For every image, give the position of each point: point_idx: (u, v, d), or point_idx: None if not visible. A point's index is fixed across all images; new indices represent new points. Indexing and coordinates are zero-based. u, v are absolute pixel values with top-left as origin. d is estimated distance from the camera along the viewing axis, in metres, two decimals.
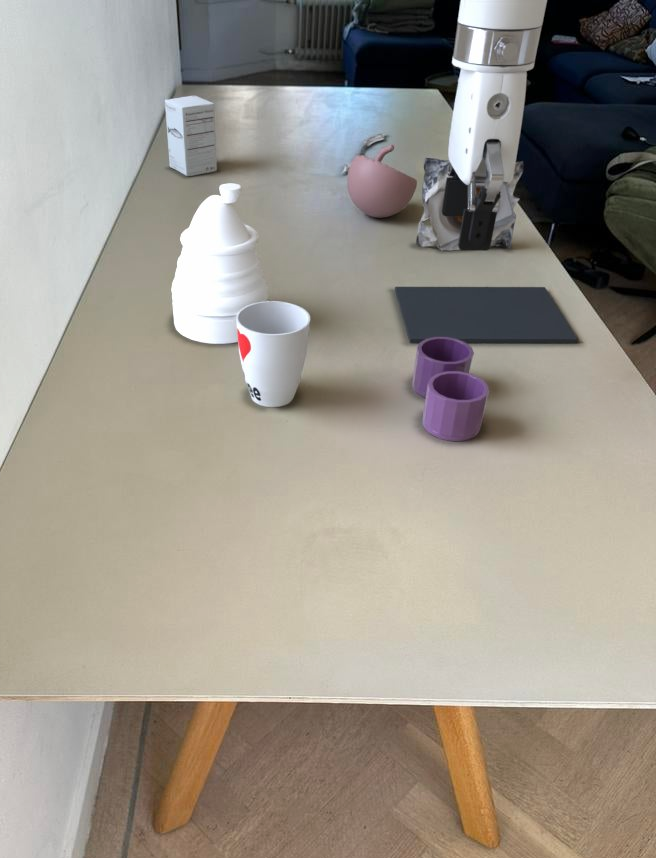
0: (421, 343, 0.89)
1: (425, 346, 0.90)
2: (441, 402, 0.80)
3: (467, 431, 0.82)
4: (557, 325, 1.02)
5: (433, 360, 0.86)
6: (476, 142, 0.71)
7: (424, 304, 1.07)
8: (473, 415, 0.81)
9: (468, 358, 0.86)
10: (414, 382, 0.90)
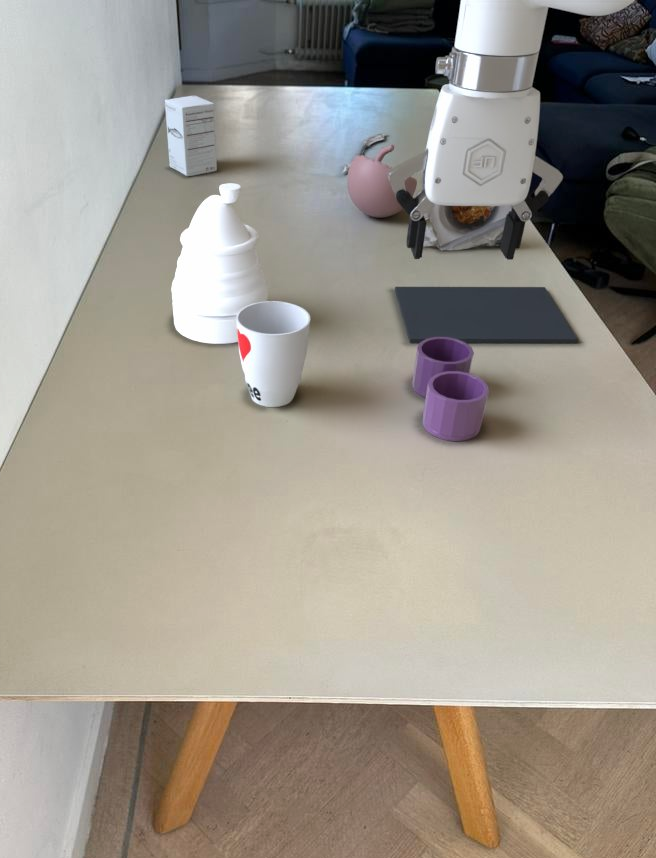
0: (421, 343, 0.89)
1: (425, 346, 0.90)
2: (441, 402, 0.80)
3: (467, 431, 0.82)
4: (557, 325, 1.02)
5: (433, 360, 0.86)
6: (426, 147, 0.75)
7: (424, 304, 1.07)
8: (473, 415, 0.81)
9: (468, 358, 0.86)
10: (414, 382, 0.90)
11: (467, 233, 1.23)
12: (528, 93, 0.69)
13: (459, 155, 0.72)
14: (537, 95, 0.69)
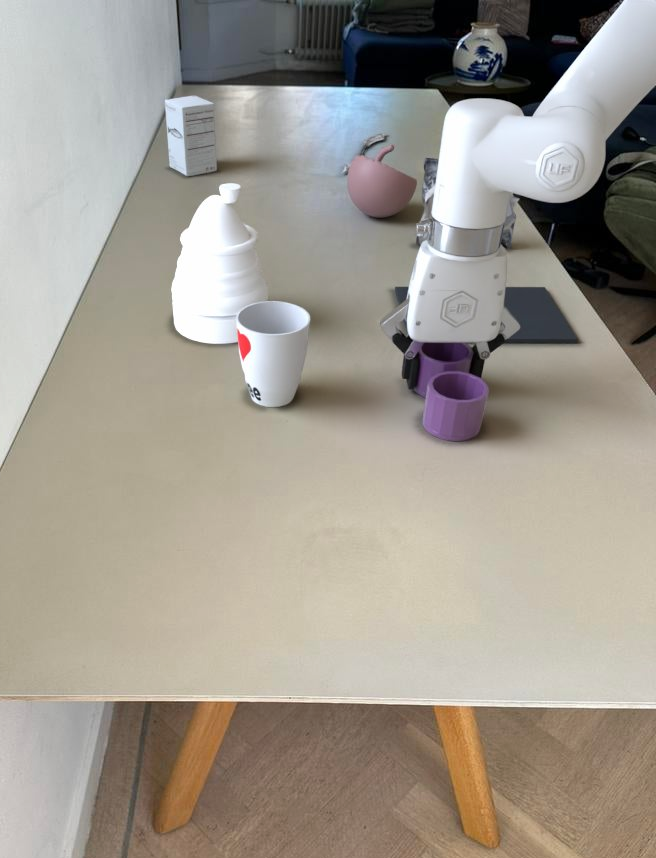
0: None
1: (425, 346, 0.90)
2: (441, 402, 0.80)
3: (467, 431, 0.82)
4: (557, 325, 1.02)
5: (433, 360, 0.86)
6: (408, 290, 0.85)
7: None
8: (473, 415, 0.81)
9: (468, 358, 0.86)
10: None
11: None
12: (496, 254, 0.78)
13: (436, 303, 0.81)
14: (504, 256, 0.79)
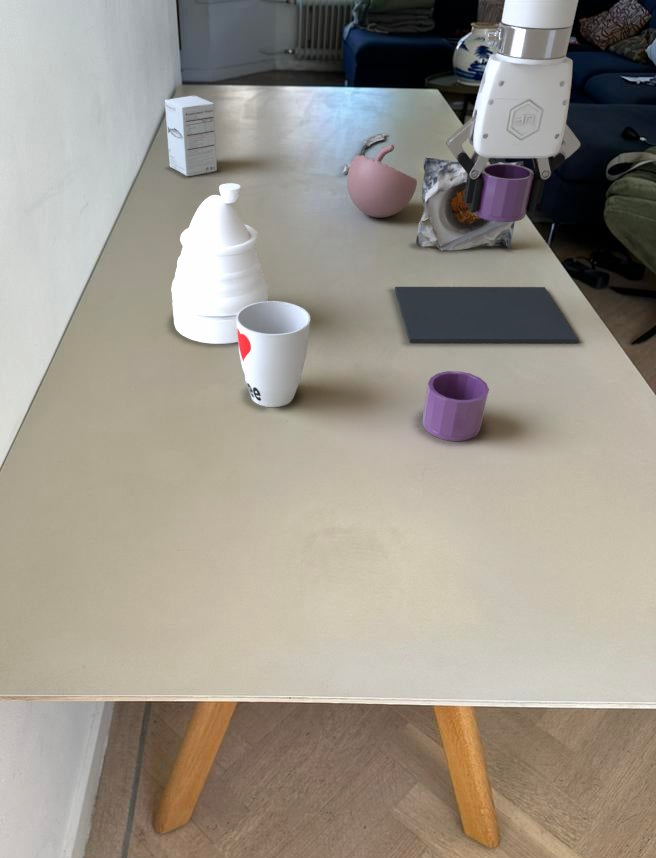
0: None
1: (487, 171, 0.94)
2: (441, 402, 0.80)
3: (467, 431, 0.82)
4: (557, 325, 1.02)
5: (497, 177, 0.90)
6: (474, 109, 0.89)
7: (424, 304, 1.07)
8: (473, 415, 0.81)
9: (530, 176, 0.91)
10: None
11: (467, 233, 1.23)
12: (563, 60, 0.83)
13: (504, 114, 0.86)
14: (570, 63, 0.83)
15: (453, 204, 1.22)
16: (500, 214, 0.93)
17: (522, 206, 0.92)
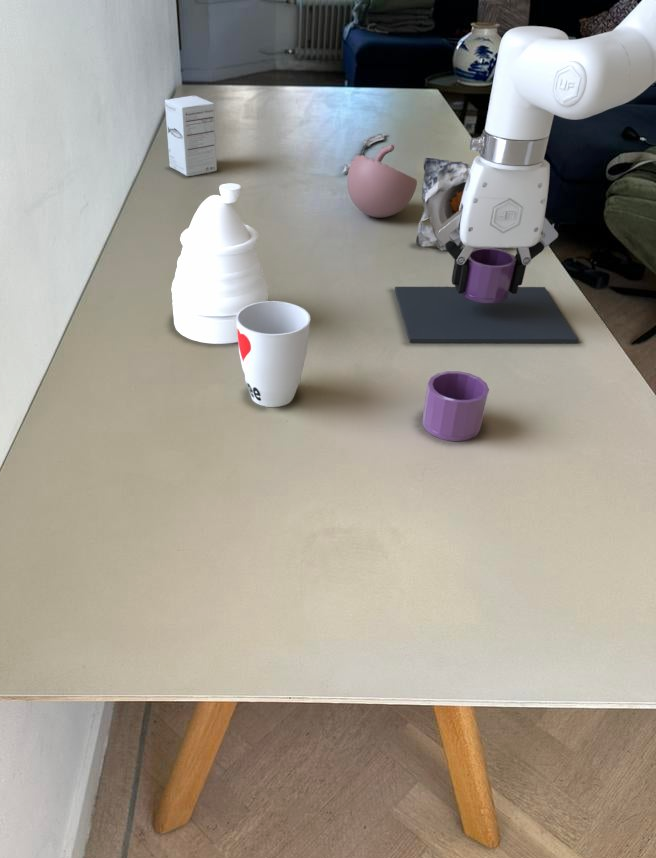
0: None
1: (473, 255, 1.02)
2: (441, 402, 0.80)
3: (467, 431, 0.82)
4: (557, 325, 1.02)
5: (481, 264, 0.98)
6: None
7: (424, 304, 1.07)
8: (473, 415, 0.81)
9: (512, 263, 0.99)
10: None
11: None
12: (541, 165, 0.91)
13: (487, 210, 0.94)
14: (547, 167, 0.91)
15: (453, 204, 1.22)
16: (485, 296, 1.01)
17: (505, 289, 1.00)
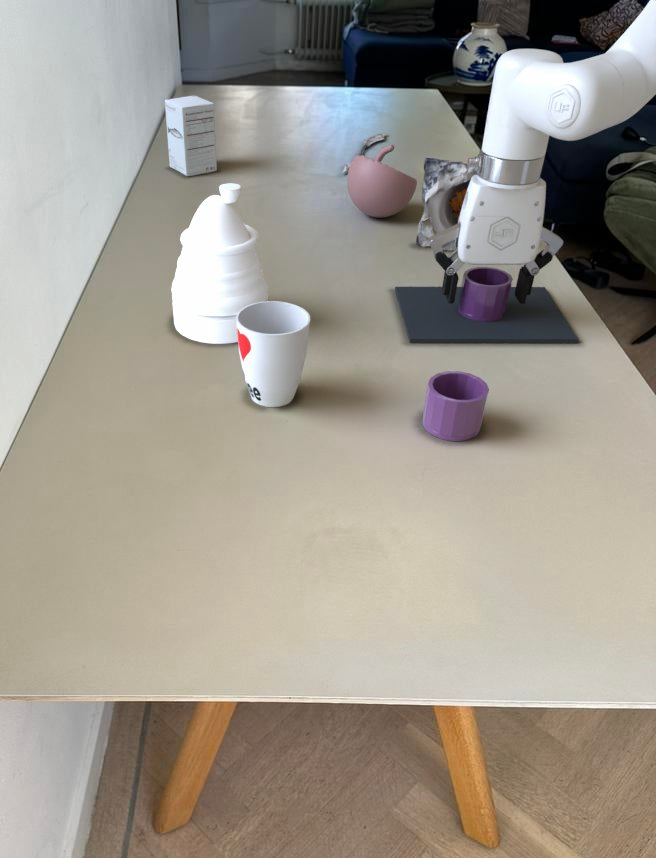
0: (466, 271, 1.03)
1: (470, 274, 1.04)
2: (441, 402, 0.80)
3: (467, 431, 0.82)
4: (557, 325, 1.02)
5: (478, 284, 1.00)
6: (458, 220, 0.99)
7: (424, 304, 1.07)
8: (473, 415, 0.81)
9: (508, 282, 1.00)
10: (460, 306, 1.04)
11: None
12: (537, 184, 0.92)
13: (485, 228, 0.95)
14: (544, 186, 0.92)
15: (453, 204, 1.22)
16: (481, 315, 1.02)
17: (501, 308, 1.02)
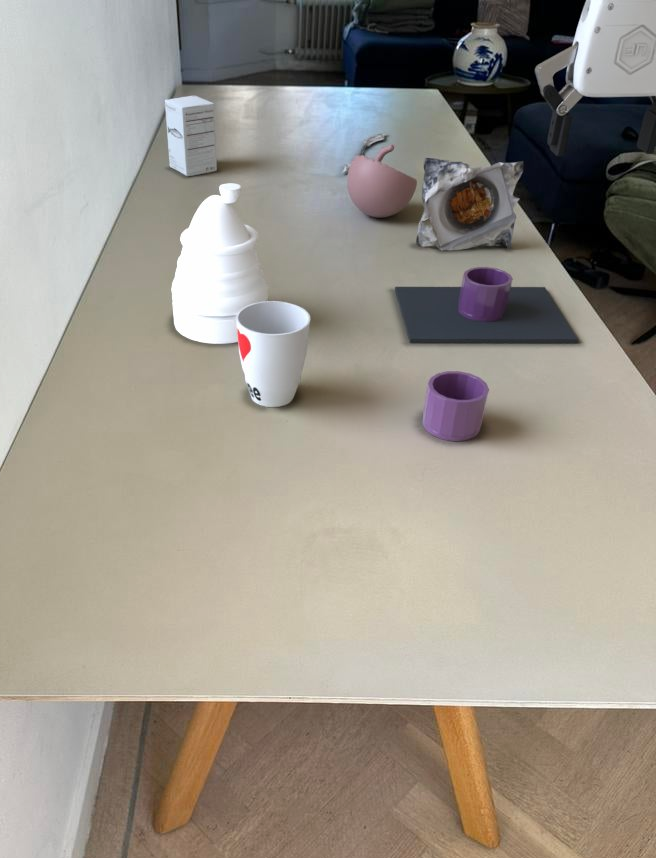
0: (466, 271, 1.03)
1: (470, 274, 1.04)
2: (441, 402, 0.80)
3: (467, 431, 0.82)
4: (557, 325, 1.02)
5: (478, 284, 1.00)
6: (573, 43, 0.78)
7: (424, 304, 1.07)
8: (473, 415, 0.81)
9: (508, 282, 1.00)
10: (460, 306, 1.04)
11: (467, 233, 1.23)
12: None
13: (612, 43, 0.75)
14: None
15: (453, 204, 1.22)
16: (481, 315, 1.02)
17: (501, 308, 1.02)
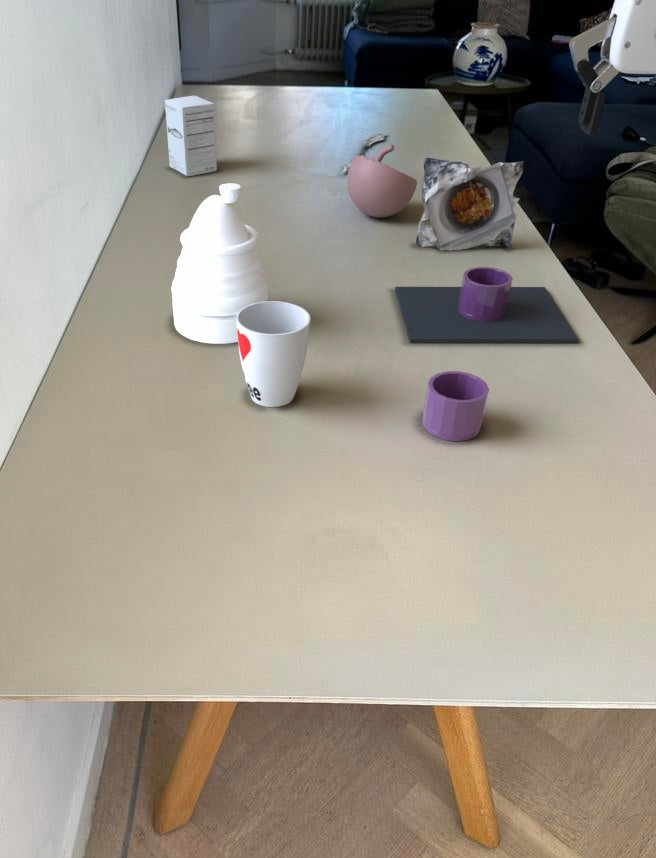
0: (466, 271, 1.03)
1: (470, 274, 1.04)
2: (441, 402, 0.80)
3: (467, 431, 0.82)
4: (557, 325, 1.02)
5: (478, 284, 1.00)
6: (610, 15, 0.75)
7: (424, 304, 1.07)
8: (473, 415, 0.81)
9: (508, 282, 1.00)
10: (460, 306, 1.04)
11: (467, 233, 1.23)
12: None
13: (653, 16, 0.71)
14: None
15: (453, 204, 1.22)
16: (481, 315, 1.02)
17: (501, 308, 1.02)
